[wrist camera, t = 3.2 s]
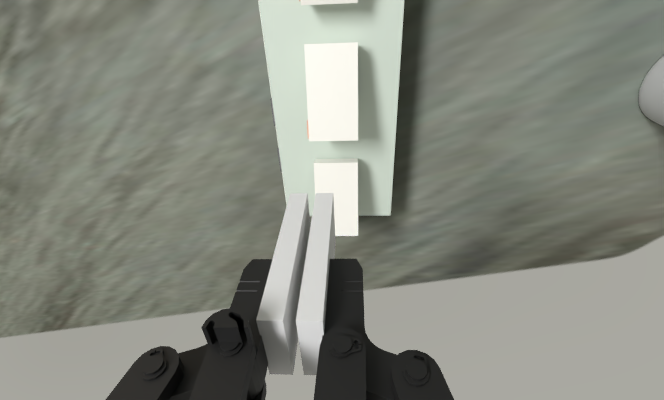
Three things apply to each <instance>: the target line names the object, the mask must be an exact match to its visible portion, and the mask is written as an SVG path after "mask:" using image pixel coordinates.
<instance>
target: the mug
mask: <svg viewBox="0 0 664 400" xmlns="http://www.w3.org/2000/svg"><path fill="white" fill-rule="evenodd" d="M638 100H639V106H640V109H641V111H642V112H643V113H644V115H645V116H646V117H647V118H649V119H650V120H652V121H654V122H656V123H658V124H660V125H662V126H664V55H663V56H662V57H661V58H660V59H659V60H658V61H657V62H656V63H655V64H654V65H653V66H652V68H651V69H650V70H649V72H648V73H647V75H646V76H645V78H644V80H643V82H642V84H641V87H640V91H639V97H638Z"/></svg>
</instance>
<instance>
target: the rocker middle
mask: <svg viewBox="0 0 664 400" xmlns="http://www.w3.org/2000/svg"><path fill="white" fill-rule="evenodd" d="M304 52H305V72H306V91H307V111H308V120H307V135H308V139H309V141H357V140H358V42H352V43H324V44H304Z"/></svg>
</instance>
